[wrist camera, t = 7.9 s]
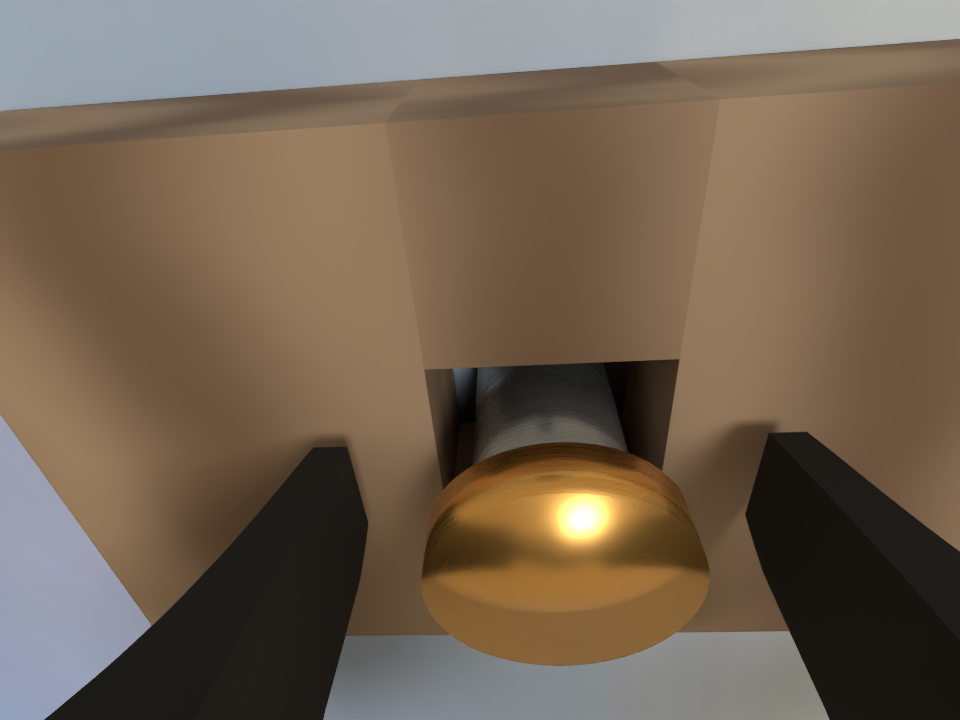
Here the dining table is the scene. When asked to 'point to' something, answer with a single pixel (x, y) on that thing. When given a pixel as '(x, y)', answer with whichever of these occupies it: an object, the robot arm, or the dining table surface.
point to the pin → (559, 528)
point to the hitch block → (483, 294)
